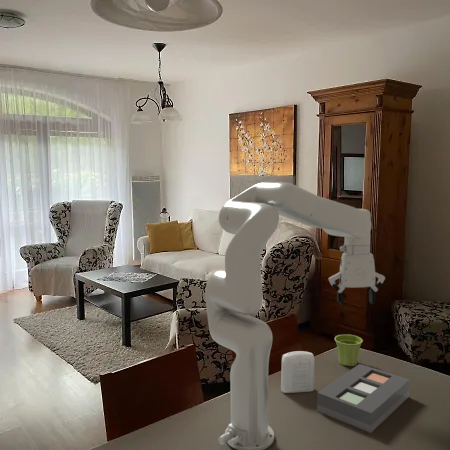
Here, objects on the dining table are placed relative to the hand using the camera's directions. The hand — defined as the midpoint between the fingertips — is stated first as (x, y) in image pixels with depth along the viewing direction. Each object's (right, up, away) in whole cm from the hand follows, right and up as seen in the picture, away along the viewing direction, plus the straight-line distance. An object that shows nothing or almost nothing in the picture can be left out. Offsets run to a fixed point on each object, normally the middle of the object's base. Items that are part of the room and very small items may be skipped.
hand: (356, 303), depth 142 cm
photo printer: (-18, -27, -1) cm, 32 cm away
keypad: (0, -27, -9) cm, 29 cm away
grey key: (0, -24, -10) cm, 26 cm away
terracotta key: (+5, -23, -4) cm, 24 cm away
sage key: (-6, -25, -16) cm, 30 cm away
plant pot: (+2, -24, +18) cm, 30 cm away
